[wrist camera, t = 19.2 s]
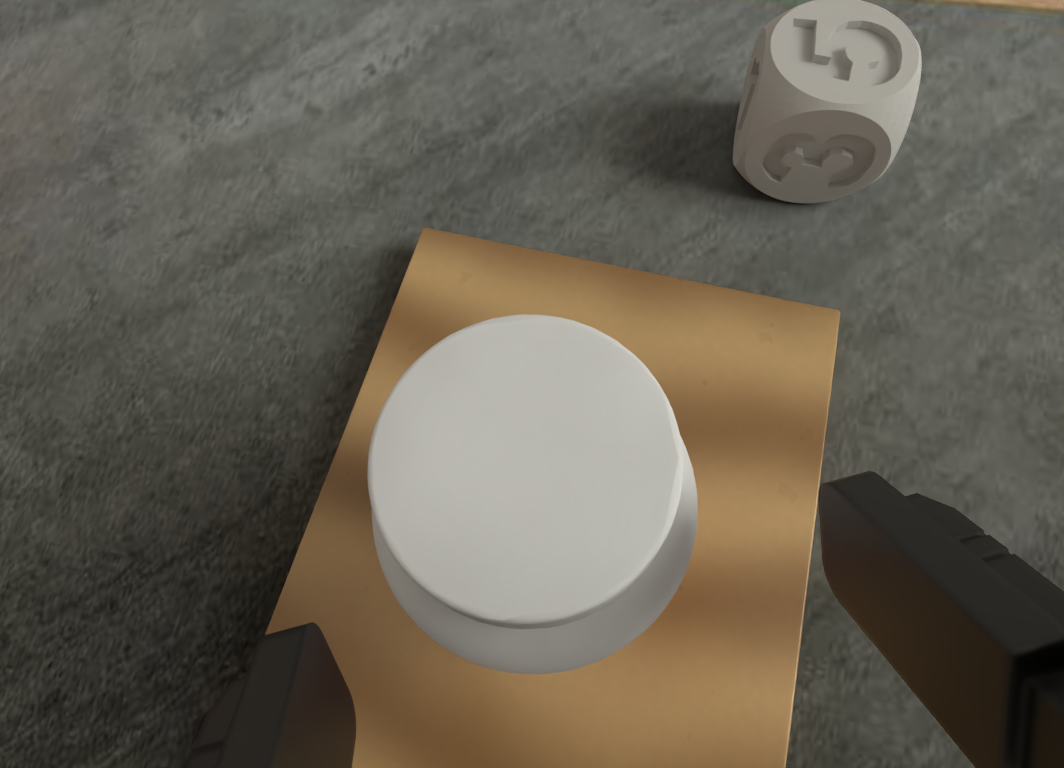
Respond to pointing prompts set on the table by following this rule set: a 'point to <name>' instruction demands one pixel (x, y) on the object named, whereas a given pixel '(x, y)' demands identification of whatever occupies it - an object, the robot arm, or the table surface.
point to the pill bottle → (531, 494)
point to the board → (713, 571)
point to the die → (826, 100)
